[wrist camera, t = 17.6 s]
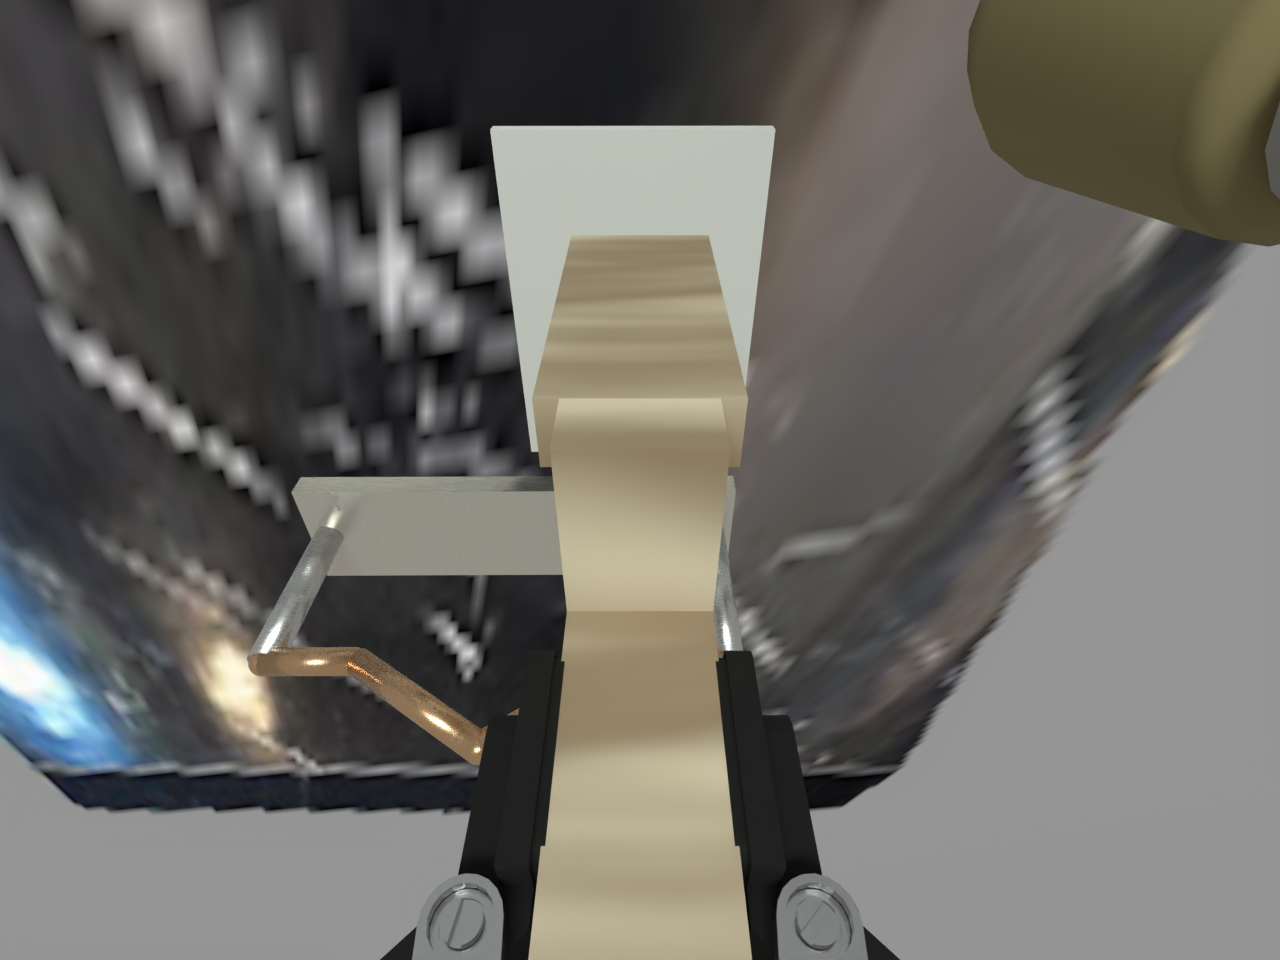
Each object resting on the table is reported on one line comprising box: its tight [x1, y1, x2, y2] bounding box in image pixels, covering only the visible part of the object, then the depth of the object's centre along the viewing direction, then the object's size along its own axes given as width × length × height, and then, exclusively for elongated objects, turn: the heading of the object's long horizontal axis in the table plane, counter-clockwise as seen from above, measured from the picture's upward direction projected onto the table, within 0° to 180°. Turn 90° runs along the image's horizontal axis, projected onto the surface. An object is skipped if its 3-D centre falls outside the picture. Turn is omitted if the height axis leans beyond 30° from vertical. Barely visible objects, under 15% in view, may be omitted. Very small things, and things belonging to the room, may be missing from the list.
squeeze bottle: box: [967, 0, 1280, 247], centre depth 15 cm, size 8×8×18 cm
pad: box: [490, 126, 775, 452], centre depth 28 cm, size 14×10×1 cm
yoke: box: [528, 235, 752, 960], centre depth 16 cm, size 11×4×17 cm, turn 0°
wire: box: [247, 476, 743, 765], centre depth 30 cm, size 6×22×14 cm, turn 90°
